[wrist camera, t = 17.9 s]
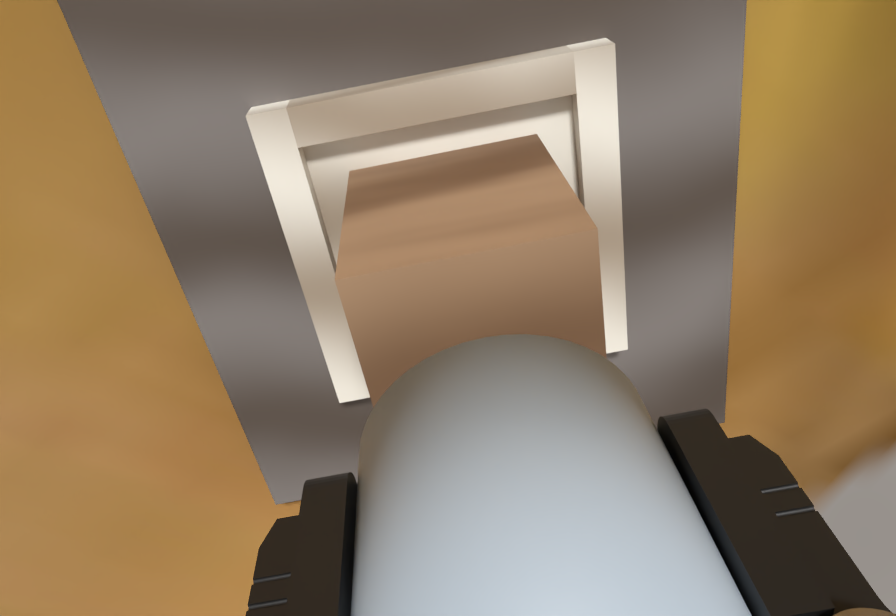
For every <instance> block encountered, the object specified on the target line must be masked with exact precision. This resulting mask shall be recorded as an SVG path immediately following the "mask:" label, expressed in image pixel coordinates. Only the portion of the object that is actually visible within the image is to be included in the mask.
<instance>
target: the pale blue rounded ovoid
mask: <svg viewBox="0 0 896 616" xmlns="http://www.w3.org/2000/svg"><path fill="white" fill-rule="evenodd" d="M351 616H752V615H751V613H750V611H749V610H748V608H747V606H746V604H745V602H744V600H743V598H742V596H741V594H740V592H739V590H738V588H737V586H736V584H735V582H734V580H733V578H732V576H731V574H730V572H729V570H728V568H727V566H726V564H725V562H724V560H723V558H722V556H721V554H720V553H719V551H718V549H717V547H716V545H715V543H714V541H713V539H712V537H711V535H710V533H709V531H708V529H707V527H706V525H705V523H704V521H703V519H702V517H701V515H700V513H699V511H698V509H697V507H696V505H695V503H694V501H693V499H692V497H691V496H690V494H689V492H688V490H687V488H686V486H685V484H684V482H683V480H682V478H681V476H680V474H679V472H678V470H677V468H676V466H675V464H674V462H673V460H672V458H671V456H670V454H669V452H668V450H667V448H666V446H665V444H664V442H663V440H662V439H661V437H660V435H659V433H658V431H657V429H656V427H655V425H654V423H653V421H652V419H651V417H650V415H649V413H648V411H647V409H646V407H645V405H644V403H643V401H642V399H641V397H640V395H639V393H638V391H637V389H636V388H635V386H634V385H633V384H632V382H631V381H630V380H629V378H628V377H627V376H626V375H625V374H624V373H623V372H622V371H621V370H620V369H619V368H618V367H617V366H616V365H615V364H613V363H612V362H610V361H609V360H608V359H606V358H605V357H603V356H602V355H600V354H598V353H596V352H594V351H592V350H590V349H588V348H586V347H584V346H581V345H579V344H576V343H573V342H570V341H567V340H563V339H558V338H553V337H549V336H540V335H529V334H515V335H499V336H492V337H484V338H480V339H476V340H472V341H468V342H464V343H461V344H458V345H455V346H453V347H450V348H447V349H444V350H442V351H440V352H438V353H436V354H434V355H432V356H430V357H428V358H426V359H424V360H423V361H421V362H420V363H418V364H417V365H415V366H414V367H412V368H411V369H409V370H408V371H407V372H405V373H404V374H403V375H402V376H401V377H400V378H398V379H397V380H396V381H395V382H394V383H393V384H392V385H391V386H390V387H389V388H388V389H387V390H386V392H385V393H384V394H383V395H382V396H381V398H380V399H379V400H378V402H377V403H376V405H375V406H374V408H373V409H372V411H371V413H370V415H369V417H368V419H367V422H366V424H365V427H364V430H363V433H362V437H361V442H360V450H359V464H358V483H357V502H356V521H355V541H354V560H353V579H352V598H351Z"/></svg>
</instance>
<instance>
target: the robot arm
mask: <svg viewBox="0 0 896 616" xmlns="http://www.w3.org/2000/svg"><path fill="white" fill-rule="evenodd" d="M657 431H658V433H659V435H660V437H661V439H662V440H663V442H664V444H665V446H666V448H667V450H668V452H669V454H670V456H671V458H672V460H673V462H674V464H675V466H676V468H677V470H678V472H679V474H680V476H681V478H682V480H683V482H684V484H685V486H686V488H687V490H688V492H689V494H690V496H691V497H692V499H693V501H694V503H695V505H696V507H697V509H698V511H699V513H700V515H701V517H702V519H703V521H704V523H705V525H706V527H707V529H708V531H709V533H710V535H711V537H712V539H713V541H714V543H715V545H716V547H717V549H718V551H719V553H720V554H721V556H722V558H723V560H724V562H725V564H726V566H727V568H728V570H729V572H730V574H731V576H732V578H733V580H734V582H735V584H736V586H737V588H738V590H739V592H740V594H741V596H742V598H743V600H744V602H745V604H746V606H747V608H748V610H749V611H750V613H751V615H752V616H896V614H893V613H892V612H891V611H890V610H889V609H888V608H887V607H886V606H885V605H884V604H883V602H882V601H881V600H880V599H879V598H878V596H877V595H876V593H875V592H874V591H873V589H872V588H871V586H870V585H869V583H868V582H867V581H866V579H865V578H864V576H863V575H862V574H861V572H860V571H859V569H858V568H857V566H856V565H855V563H854V562H853V561H852V559H851V558H850V556H849V555H848V554H847V552H846V551H845V550H844V548H843V547H842V545H841V544H840V542H839V541H838V539H837V538H836V536H835V535H834V534H833V532H832V531H831V529H830V528H829V527H828V525H827V524H826V523H825V521H824V519H823V518H822V517H821V515H820V514H819V512H818V511H815V510H814V505H813V504H812V502H811V501H810V500H809V498H808V497H807V495H806V494H805V492H804V491H803V490H802V488H799V487H798V482H797V481H796V480H795V478H794V477H793V475H792V474H791V473H790V471H789V470H788V468H787V467H786V465H785V464H784V463H783V461H782V460H781V458H780V457H779V456H778V455H777V454H776V453H774V452H773V451H771V450H770V449H769V448H767V447H766V446H764V445H763V444H761V443H760V442H759V441H757V440H756V439H754V438H753V437H751V436H750V435H745V436H739V437H734V438H727V436H726V435H725V433H724V431H723V430H722V428H721V427H720V425H719V423H718V422H717V420H716V419H715V417H714V416H713V414H712V413H711V412H710V411H709V410H708V409H706V408H704V409H699V410H693V411H688V412H682V413H677V414H671V415H666V416H661V417H659V419H658V423H657ZM356 502H357V482H356V479H355V477H354V475H353V473H352V472H347V473H342V474H336V475H331V476H326V477H320V478H315V479H309V480H306V481H305V483H304V486H303V491H302V498H301V505H300V512H299V515H297V516H291V517H286V518H280V519H277V520H276V522H275V523H274V525H273V527H272V528H271V530H270V531H269V533H268V535H267V536H266V538H265V539H264V541H263V543H262V544H261V546H260V547H259V551H258V556H257V561H256V566H255V571H254V576H253V581H254V584H253V585H252V586H251V591H250V596H249V601H248V607H249V610H248V611H247V612H246V616H351V598H352V579H353V560H354V541H355V521H356Z"/></svg>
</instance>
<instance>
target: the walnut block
mask: <svg viewBox="0 0 896 616" xmlns="http://www.w3.org/2000/svg"><path fill="white" fill-rule="evenodd" d="M335 283H336V286H337V289H338V293H339V296H340V299H341V303H342V306H343V309H344V312H345V316H346V319H347V322H348V326H349V329H350V332H351V336H352V339H353V342H354V345H355V349H356V352H357V355H358V359H359V362H360V365H361V369H362V372H363V375H364V378H365V382H366V385H367V388H368V392H369V395H370V398H371V402H372V405H373V408H374V406H375V405H376V403H377V402H378V400H379V399H380V398H381V396H382V395H383V394H384V393H385V392H386V390H387V389H388V388H389V387H390V386H391V385H392V384H393V383H394V382H395V381H396V380H397V379H398V378H400V377H401V376H402V375H403V374H404V373H405V372H407V371H408V370H409V369H411V368H412V367H414V366H415V365H417V364H418V363H420V362H421V361H423V360H424V359H426V358H428V357H430V356H432V355H434V354H436V353H438V352H440V351H442V350H444V349H447V348H450V347H453V346H455V345H458V344H461V343H464V342H468V341H472V340H476V339H480V338H484V337H492V336H499V335H515V334H529V335H540V336H549V337H553V338H558V339H563V340H567V341H570V342H573V343H576V344H579V345H581V346H584V347H586V348H588V349H590V350H592V351H594V352H596V353H598V354H600V355H602V356H603V357H605V358H606V359H607V357H606V343H605V328H604V313H603V299H602V284H601V270H600V255H599V241H598V228H597V227H596V225H595V224H594V222H593V221H592V219H591V217H590V216H589V214H588V213H587V211H586V210H585V208H584V207H583V205H582V203H581V202H580V200H579V199H578V197H577V196H576V194H575V193H574V191H573V189H572V188H571V186H570V185H569V183H568V182H567V180H566V178H565V177H564V175H563V174H562V172H561V171H560V169H559V168H558V166H557V164H556V163H555V161H554V160H553V158H552V157H551V155H550V154H549V152H548V150H547V149H546V147H545V146H544V144H543V143H542V141H541V140H540V138H539V136H538V135H537V134H533V135H528V136H523V137H518V138H513V139H508V140H503V141H498V142H493V143H488V144H483V145H478V146H473V147H468V148H463V149H458V150H453V151H448V152H443V153H438V154H433V155H428V156H423V157H417V158H412V159H407V160H402V161H397V162H392V163H387V164H382V165H377V166H372V167H367V168H362V169H357V170H352V171H349V177H348V184H347V192H346V199H345V207H344V214H343V222H342V229H341V236H340V244H339V251H338V259H337V266H336V273H335Z"/></svg>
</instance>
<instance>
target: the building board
mask: <svg viewBox="0 0 896 616" xmlns="http://www.w3.org/2000/svg"><path fill="white" fill-rule="evenodd" d="M57 1H58V3H59V5H60V8H61V10H62V12H63V15H64V17H65V19H66V22H67V24H68V26H69V29H70V31H71V33H72V35H73V38H74V40H75V42H76V45H77V47H78V49H79V52H80V54H81V56H82V59H83V61H84V63H85V65H86V68H87V70H88V72H89V75H90V77H91V79H92V82H93V84H94V86H95V89H96V91H97V93H98V95H99V98H100V100H101V102H102V105H103V107H104V109H105V112H106V114H107V116H108V118H109V121H110V123H111V125H112V128H113V130H114V132H115V135H116V137H117V139H118V142H119V144H120V146H121V148H122V151H123V153H124V155H125V158H126V160H127V162H128V165H129V167H130V169H131V172H132V174H133V176H134V178H135V181H136V183H137V185H138V188H139V190H140V192H141V195H142V197H143V199H144V202H145V204H146V206H147V208H148V211H149V213H150V215H151V218H152V220H153V222H154V225H155V227H156V229H157V231H158V234H159V236H160V238H161V241H162V243H163V245H164V248H165V250H166V252H167V255H168V257H169V259H170V261H171V264H172V266H173V268H174V271H175V273H176V275H177V278H178V280H179V282H180V285H181V287H182V289H183V291H184V294H185V296H186V298H187V301H188V303H189V305H190V308H191V310H192V312H193V315H194V317H195V319H196V321H197V324H198V326H199V328H200V331H201V333H202V335H203V338H204V340H205V342H206V345H207V347H208V349H209V351H210V354H211V356H212V358H213V361H214V363H215V365H216V368H217V370H218V372H219V374H220V377H221V379H222V381H223V384H224V386H225V388H226V391H227V393H228V395H229V398H230V400H231V402H232V404H233V407H234V409H235V411H236V414H237V416H238V418H239V421H240V423H241V425H242V428H243V430H244V432H245V434H246V437H247V439H248V441H249V444H250V446H251V448H252V451H253V453H254V455H255V458H256V460H257V462H258V464H259V467H260V469H261V471H262V474H263V476H264V478H265V481H266V483H267V485H268V488H269V490H270V492H271V494H272V497H273V499H274V501H275V504H282V503H287V502H293V501H298V500H301V498H302V491H303V486H304V483H305V481H306V480H309V479H315V478H320V477H326V476H331V475H336V474H342V473H347V472H352V473H353V475H354V477H355V479H356V482H357V483H358V464H359V450H360V442H361V437H362V433H363V430H364V427H365V424H366V422H367V419H368V417H369V415H370V413H371V411H372V409H373V405H372V402H371V398H370V395H369V392H368V388H367V385H366V382H365V378H364V375H363V372H362V369H361V365H360V362H359V359H358V355H357V352H356V349H355V345H354V342H353V339H352V336H351V332H350V329H349V326H348V322H347V319H346V316H345V312H344V309H343V306H342V303H341V299H340V296H339V293H338V289H337V286H336V283H335V273H336V266H337V259H338V251H339V244H340V236H341V229H342V222H343V214H344V207H345V199H346V192H347V184H348V177H349V171H352V170H357V169H362V168H367V167H372V166H377V165H382V164H387V163H392V162H397V161H402V160H407V159H412V158H417V157H423V156H428V155H433V154H438V153H443V152H448V151H453V150H458V149H463V148H468V147H473V146H478V145H483V144H488V143H493V142H498V141H503V140H508V139H513V138H518V137H523V136H528V135H533V134H537V135H538V136H539V138H540V140H541V141H542V143H543V144H544V146H545V147H546V149H547V150H548V152H549V154H550V155H551V157H552V158H553V160H554V161H555V163H556V164H557V166H558V168H559V169H560V171H561V172H562V174H563V175H564V177H565V178H566V180H567V182H568V183H569V185H570V186H571V188H572V189H573V191H574V193H575V194H576V196H577V197H578V199H579V200H580V202H581V203H582V205H583V207H584V208H585V210H586V211H587V213H588V214H589V216H590V217H591V219H592V221H593V222H594V224H595V225H596V227H597V228H598V241H599V255H600V270H601V284H602V299H603V313H604V328H605V343H606V357H607V359H608V360H609V361H610V362H612V363H613V364H615V365H616V366H617V367H618V368H619V369H620V370H621V371H622V372H623V373H624V374H625V375H626V376H627V377H628V378H629V380H630V381H631V382H632V384H633V385H634V386H635V388H636V389H637V391H638V393H639V395H640V397H641V399H642V401H643V403H644V405H645V407H646V409H647V411H648V413H649V415H650V417H651V419H652V421H653V423H654V425H655V427H656V429H657V423H658V419H659V417H661V416H666V415H671V414H677V413H682V412H688V411H693V410H699V409H704V408H706V409H708V410H709V411H710V412H711V413H712V414H713V416H714V417H715V419H716V420H717V422H718V423H724V422H725V403H726V384H727V365H728V346H729V327H730V308H731V289H732V269H733V250H734V231H735V212H736V193H737V174H738V155H739V136H740V117H741V97H742V78H743V59H744V40H745V21H746V2H747V0H57Z"/></svg>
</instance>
